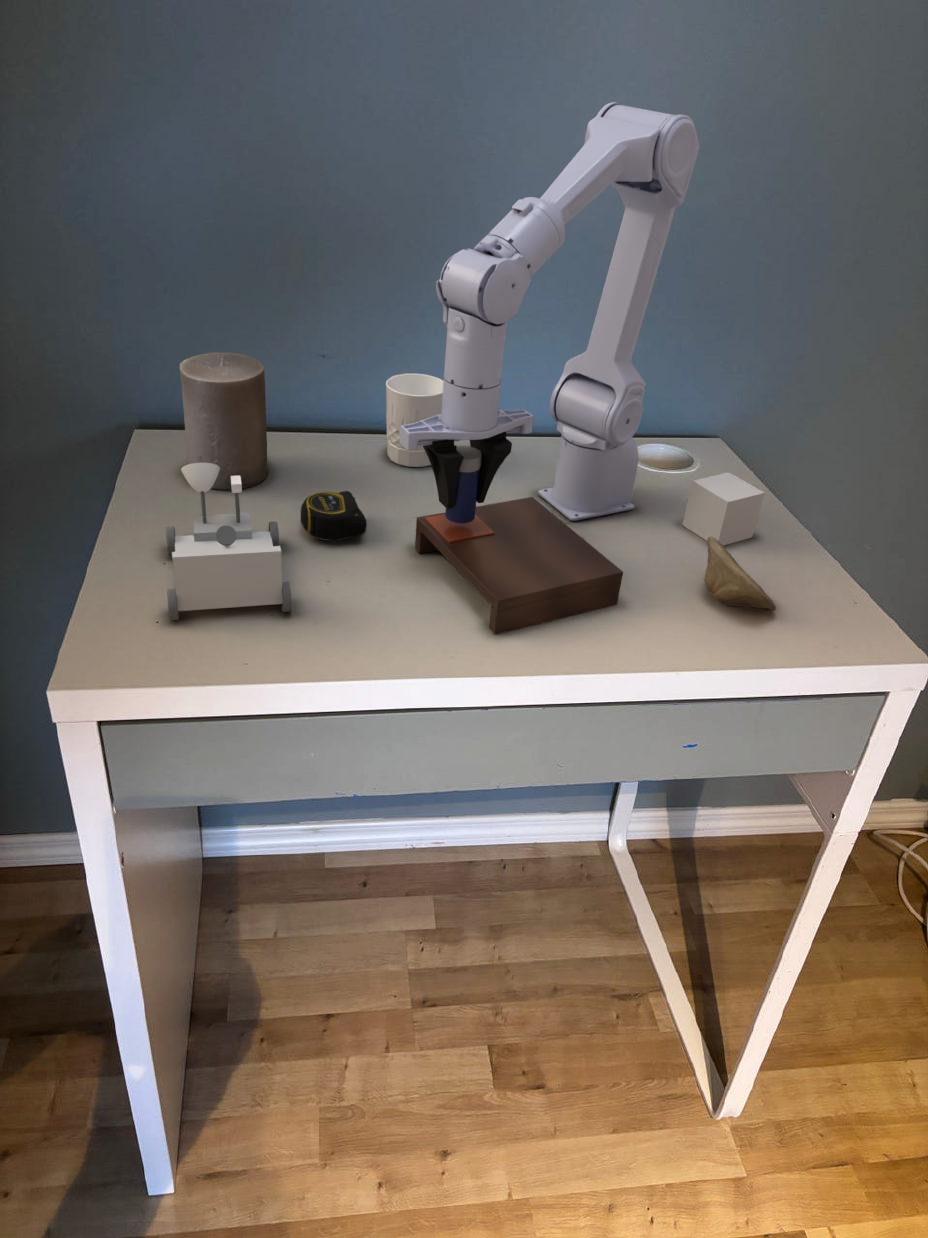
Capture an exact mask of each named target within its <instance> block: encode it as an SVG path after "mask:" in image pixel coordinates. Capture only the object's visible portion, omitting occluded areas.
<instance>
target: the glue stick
mask: <svg viewBox="0 0 928 1238" xmlns="http://www.w3.org/2000/svg"><path fill="white" fill-rule="evenodd" d="M456 446H457V449H456V450H457V451H458V452H459V453H460V454H461V455H462V456H463V457H464V459H463V461H462V464H461V466H460V469H459V473H458V477H457V483H456V495H455V502H454V506H453V508H450V509H447V508H446V507H445V511H444V513H445V516H446V518H447V519H448V520H450V521H452V522H455V523H469V522H471V521H473V520H474V518H475V511H476V507H477V501H476V500H477V490H478V480H479V469H480V467H481V459H482V453H481V451H480V450H478V449H476V448H474V447H470V445H456Z"/></svg>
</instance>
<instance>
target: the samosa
mask: <svg viewBox="0 0 928 1238" xmlns="http://www.w3.org/2000/svg"><path fill="white" fill-rule="evenodd" d="M706 545H707V564H706V565H707V566H706V569H705V571H704V578H703V581H704V584H705V587H706V589H707V590H708V591H709V592H710V593H711V594H712V595H713V597H714V598H715V599H716V600H717V601H719V602H720V603H722V604H724V605H726V606H741V607H742V606H743V607H751V608H758V609H763V608H765V609H767V610H770V611H775V610H777V606H776V604H775V602H774V600H773V599H772V598H771V597H770V596H769V595H768V593H766V591H765V590H764V589H763V588H762V586H760V585H759V583H758V582H757V581H756V580H755V579H754V578H753V577H752V576H751V575H750V574H748V573H747V572H746V570H744V568H743V567H742V566H740V564H739V563H738V562H737V561H736V559H735V558H734V557H733V556H732V554H731V553H730V552H729V551H728V550H727V549H726V548H725V546H724V545H722V544H721V543H719V541H718V540H716V539H715V538H714V537H711V536H710V537H708V539H707V541H706Z"/></svg>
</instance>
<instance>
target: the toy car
mask: <svg viewBox="0 0 928 1238" xmlns="http://www.w3.org/2000/svg"><path fill="white" fill-rule="evenodd" d="M219 470H220V467H219V466H218V465H215V464H212V463H202V456H198V463H192V464H188V463H187V464H185V465H183V466H182V467H181V468H180V471H181V473H182V475H183V477H184V479H185V480H186V481H187V483H188V484H189V486H190V487H191V488H192V489H193V490H194V491H195V492H197V493H198V494H200V504H201V505H200V506H201V514H195V515H192V525H193V535H190V534H189V535H176V529H175V526H167V527H166V528H165V535H166V536H165V538H166V547H167V555H168V556H171V558H172V568H173V570H172V571H173V578H174V579H173V580H174V588H167V590H166V591H167V592H166V595H167V597H166V598H167V609H168V610H167V611H168V619H169V620H170V621H178V620H179V619H180V612H183V611H184V612H185V611H198V610H199V611H201V610H214V609H228V608H242V607H243V608H244V607H256V606H258V607H259V606H271V605H280V606H281V611H282V613H288V612H292V608H293V604H292V603H293V602H292V601H293V600H292V589H291V584H290V583H291V582H290V581H288V580H285V581H283V565H282V563H283V562H282V548H281V545H280V535H279V534H280V533H279V525H278V522H277V521H269V522H268V531H253V528H252V522H251V516H250V514H251V513H250V512H241V511H240V510H241V509H240V494H242V493H243V488H242V484H241V477H240V476H237V475H234V476H231V488H232V489H231V493H232V494H234V503H235V504H234V505H235V513H216V514H215V513H214V514H207V508H206V495H205V494H206V493H207V492H209V491H210V490H211V489H212V488H211V487H212V486H213V484H214V482H215V480H216V478H217V476H218V473H219Z"/></svg>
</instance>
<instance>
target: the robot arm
mask: <svg viewBox="0 0 928 1238" xmlns="http://www.w3.org/2000/svg"><path fill="white" fill-rule="evenodd" d="M700 146H701V145H700V141H699V137H698V133H697V130H696V126H695V123H694V121H693V120H692V118H691V117H690V116H688V115H686V114H672V113H667V112H661V111H655V110H650V109H644V108H639V107H633V106H628V105H624V104H622V103H621V102H616V101H612V102H609V103H606V104H605V105H604V106H603V107H601V109H600V110H599V111H598V113H597V114H596V116H595V117H594V118H593V117H592V119H591V120H589V121H588V123H587V127H586V131H585V135H584V144H583V146H582V147H581V148H580V149H579V151H577V153H576V154H575V155H574V156H573V158H572V159H571V160H570V161H569V162H568V164H567V165H566V166H565V168H563V170H562V171H561V172H560V173H559V175H558V176H557V177H556V178H555V179H554V181H553V182H552V183H551V184H550V186H549V187H548V188H547V189H546V191H545V192H544V193H543V194H542V195H541V196H540V197H536V196H529V197H528V196H527V197H524V198H522V199H517V201H516V202H515V203H514V204H513V205H512V206H511V210H510V211H509V212H508V213H507V214H506V215H505V216H504V217H503V218H502V219H501V220H500V221H499V222H498V223H497V224H496V225H495V226H494V227H493V228H492V229H491V230H490V231H489V232H488V233H487V234H486V235H485V236H484V237H483V238H482V239H481V240H480V241H479V242H478V243H477V244H476V245H475V247H474V248H473V249H472V248H466V249H461V250H459V251H458V252H456V253H454V254H452V255H451V256H450V257H449V258H448V259H447V260H446V262H445V263H444V265H443V266H442V269H441V272H440V276H439V279H437V280H436V283H435V290H436V296H437V298H438V300H439V302H440V305H441V306H442V309H443V311H442V312H443V314H442V322H443V323H444V326H445V328H446V342H445V355H444V368H443V369H444V370H443V381H444V382H443V396H442V410H441V414H439V415H436V416H433V417H430V418H427V419H424V420H422V421H419V422H416V423H412V424H408V425H402V426H400V444H401V445H402V446H403V447H404V448H405V449H407V450H408V451H411V450H416V449H417V447H418V446H423V448H424V450H425V452H426V454H427V456H428V458H429V461H430V464H431V465H430V466H431V469H432V473H433V475H434V479H435V483H436V490H437V497H438V502H439V503H440V504H441V505H442V506H443V507H444V508H445V509H446V508H447V509H450V508H453V506H454V502H455V495H456V483H457V477H458V473H459V469H460V466H461V464H462V461H463V459H464V457H463V456H462V455H461V454H460V453H459V452H458V451H457V450H456V449H457V446H458V445H455V442H459V441H469V447H474V448H476V449H478V450H480V451H481V453H482V459H481V467H480V469H479V480H478V490H477V500H476V503H478V504H484V503H485V500H486V497H487V495H488V492H489V489H490V487H491V484H492V483H493V480H494V478H495V476H496V474H497V472H498V470H499V469H500V467H501V466H502V464H503V462H505V460H506V459H507V457H508V456H509V455H510V454H511V453H512V448H513V447H512V446H513V443H512V442H511V441H510V440H509V439H508V438H507V435H508V434H514V433H522V434H523V435H527V434H532V433H533V427H534V420H535V419H534V418H535V416H534V415H533V414H532V413H531V412H529V411H528V410H526V409H525V408H523V409H522V408H521V409H499V405H500V395H501V387H502V386H501V384H502V375H503V367H504V355H505V347H506V338H507V327H508V321H509V320H511V318H513V317H515V316H516V315H517V313H518V312H519V310H520V308H521V306H522V303H523V301H524V298H525V294H526V292H527V290H528V289H529V288H530V284H531V283H532V277H533V276H534V275H535V274H536V273H537V272H538V271H539V270H540V269H541V268H542V267H543V266H544V265H545V264H546V263H547V261H548V260H549V259H550V258H551V257H552V256H554V254H555V253H556V252H557V251H558V250H559V249H560V248H561V247H562V246H563V244H564V243H565V239H566V228H565V226H566V225H567V224H568V223H569V222H570V221H571V220H572V219H573V218H575V217H576V216H577V215H578V214H579V213H581V211H582V210H583V209H585V208H586V207H587V206H588V205H589V204H590V203H592V202H593V201H594V200H595V199H596V198H597V197H598V196H599V195H600V194H602V193H603V192H604V191H605V190H606V189H607V188H609V187H610V186H611V187H612V188H613V189H614V190H615V191H617V192H618V193H619V196H620V199H621V201H622V203H623V206H624V212H623V216H622V220H621V223H620V227H619V230H618V234H617V238H616V241H615V245H614V248H613V253H612V257H611V260H610V263H609V267H608V270H607V275H606V278H605V282H604V286H603V290H602V292H601V293H602V294H601V296H600V300H599V303H598V308H597V311H596V314H595V318H594V322H593V326H592V329H591V333H590V337H589V340H588V344H587V348H586V350H585V351H584V352H582V353H580V354H578V355H576V356H574V357H571V358H570V359H569V360H567V361H566V362H565V363H564V367H563V371H562V373H561V376H560V378H559V380H558V382H557V383H556V384H555V386H554V387H553V390H552V393H551V396H550V401H549V404H550V405H549V409H550V410H549V411H550V415H551V417H552V419H553V420H554V421H555V422H557V424H556V431H557V432H559V433H560V441H559V448H558V453H557V462H556V468H555V474H554V481H553V487H548V488H542V489H539V490H538V493H537V494H538V495H539V496H540V497H542V498H543V499H544V500H545V501H546V502H547V503H549V504H550V505H551V506H552V507H553V508H555V509H556V510H557V511H559V512H560V513H561V514H562V515H563V516H565V518H567V519H568V520H570V521H571V522H572V521H573V522H575V521H580V520H585V519H591V518H595V517H601V516H606V515H610V514H612V515H613V514H616V513H621V512H626V511H632V510H634V508H635V505H634V504H633V503H632V502H631V501H632V496H633V490H634V485H635V481H636V476H637V470H638V466H639V465H638V464H639V450H638V446H637V443H636V441H635V439H634V436H635V434H636V432H638V429H639V428H640V427H639V426H640V425H641V421H642V419H643V402H644V401H643V400H644V395H645V391H646V388H647V385H646V382H645V380H644V379H643V377H642V375H641V374H640V373H639V371H638V370H637V368H636V366H635V365H634V364H633V361H632V358H633V355H634V352H635V349H636V345H637V341H638V338H639V335H640V332H641V328H642V324H643V322H644V319H645V314H646V312H647V307H648V304H649V300H650V298H651V293H652V290H653V287H654V284H655V280H656V276H657V273H658V270H659V267H660V264H661V260H662V256H663V253H664V251H665V250H664V249H665V246H666V243H667V239H668V237H669V233H670V230H671V225H672V222H673V219H674V215H675V212H676V209H677V207H679V206H682V204H684V201H685V198H686V195H687V191H688V188H689V185H690V181H691V178H692V175H693V171H694V169H695V165H696V161H697V158H698V155H699V150H700Z"/></svg>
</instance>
